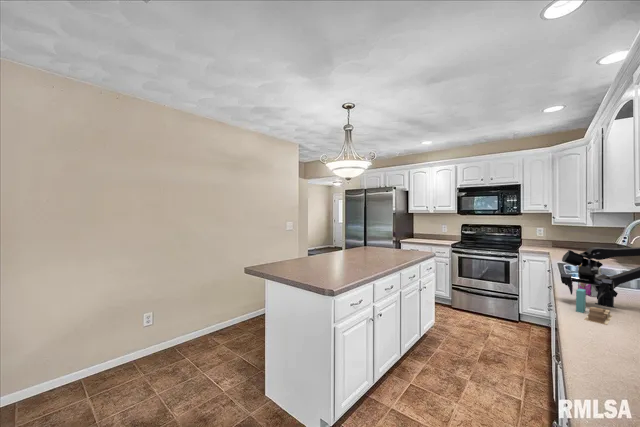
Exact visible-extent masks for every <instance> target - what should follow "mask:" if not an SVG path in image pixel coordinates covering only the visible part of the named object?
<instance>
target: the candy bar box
mask: <svg viewBox="0 0 640 427" xmlns="http://www.w3.org/2000/svg"><path fill="white" fill-rule="evenodd" d="M580 266H581V265H580ZM577 267H578V268H577V272H578V271H579V266H578V265H577ZM600 275H602V267H599V272H598V275H597V274H596V276H595V277H597V276H600ZM577 278H579V277H578V276H577ZM577 283H578V284H577V289H585V290H586V296H589V297H591V296H592V297H591V298H593V297H594V298H597V294H598V292H597V291H596V290H595V288H593V287H592V286H591V284H584V283H580V282H577Z"/></svg>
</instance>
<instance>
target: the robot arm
mask: <svg viewBox="0 0 640 427" xmlns="http://www.w3.org/2000/svg"><path fill="white" fill-rule="evenodd" d="M618 257H619V258H620V257H640V246H639V247H638V246H637V247H636V246H635V247H619V248H618V247H617V248H607V247H599V246H598V247H597V246H596V247H595V246H592V247H589V248H587V249H586V250H585V251H583V252H580V253H578V252H575V251H573V250H571V249H569V250H568V251H567V252H566V253H565V254H563V256H562V258H561V262H562V263H566V264H568V265H571V266H573V267H578V266H579V271H578V270H577V277H574V276H573V274H571V273H561V275H560V280H561V283H562V284H564V285H565V286H567V287H568V289H569V292H570V295H573V289H574V288H573V286H574V285H573V283H578V282H580V283H584V284H591V286H592V287H593V288H595V290H596V291H597V292H598V294H597V297H596V300H597V302H594V305H595V306H600V307H607V308H613V309H617V307H616V306H615V298H617V296H618V294H619V293H618V292H617V291H616V290H615V289H616V288H617V287H618V286H620V285H622V284H624V283H628V282H632V281H634V280H638V279H640V266H638V267H636V268H632V269H629V270H626V271H623V272H621V273H617V274H614V275H610V276H609V275H607V274H604V273H603V274H602V273H601V275H600V276H597V277H595V276H596V274H597V275H598V272H599V267H600V268H602V266H604V265H603V263H602V262H600V261H602V260H608V259H611V258H618ZM580 265H581V266H580ZM578 277H579V278H578Z"/></svg>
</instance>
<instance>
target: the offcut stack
mask: <svg viewBox="0 0 640 427" xmlns="http://www.w3.org/2000/svg"><path fill="white" fill-rule="evenodd" d="M597 308H598V307H596V308H592V306H590V307H589V308H588V309H589V310H588V314H587V315H588V320H591V321H596V322H600V323H604V322H605V321H606V315H604V312H603V310H602V309H603V308H601V309H597ZM591 321H590V322H591ZM600 323H599V324H600Z"/></svg>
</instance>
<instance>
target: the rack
mask: <svg viewBox="0 0 640 427" xmlns="http://www.w3.org/2000/svg"><path fill="white" fill-rule="evenodd" d="M591 308H597V309H602V310H603V312H604V315H606V321H605V322H604V323H600V322H596V321H591V320H588V314H587V315H586V317H585V318H584V321H586V322H591V323H596V324H600V325H604V326H605V325H606V326H608V325H609V323H610V321H611V319H612V317H613V314H611V309H605V308H601V307H595V306H591Z"/></svg>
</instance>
